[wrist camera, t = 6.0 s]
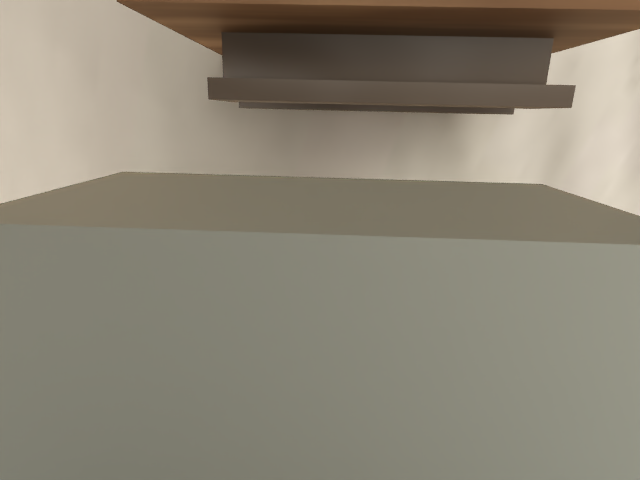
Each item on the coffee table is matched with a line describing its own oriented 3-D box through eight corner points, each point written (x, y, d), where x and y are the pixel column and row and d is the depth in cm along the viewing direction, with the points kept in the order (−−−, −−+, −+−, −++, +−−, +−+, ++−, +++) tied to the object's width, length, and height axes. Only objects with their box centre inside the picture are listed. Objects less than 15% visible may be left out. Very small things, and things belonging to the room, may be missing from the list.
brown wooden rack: (231, -27, 27) (94, -210, 12) (514, -23, 26) (759, -209, 11) (236, 108, 29) (127, 103, 14) (495, 114, 29) (675, 116, 14)
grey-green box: (226, 144, 12) (-67, 221, 3) (439, 150, 12) (737, 248, 3) (235, 408, 14) (85, 851, 6) (412, 416, 14) (533, 883, 6)
